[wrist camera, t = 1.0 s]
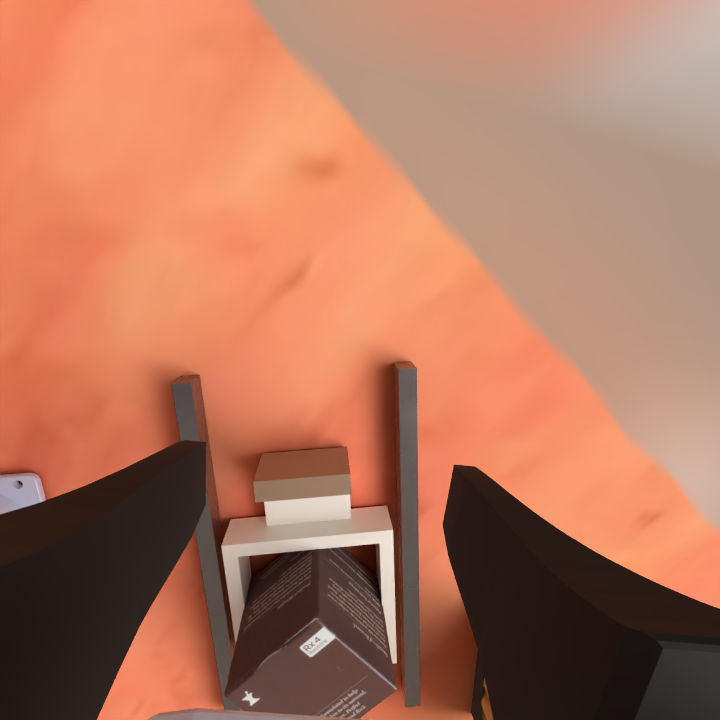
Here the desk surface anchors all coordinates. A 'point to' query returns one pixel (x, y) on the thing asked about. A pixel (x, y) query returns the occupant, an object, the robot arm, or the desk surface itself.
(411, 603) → the track
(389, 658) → the box
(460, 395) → the desk surface
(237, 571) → the frame
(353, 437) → the desk surface
